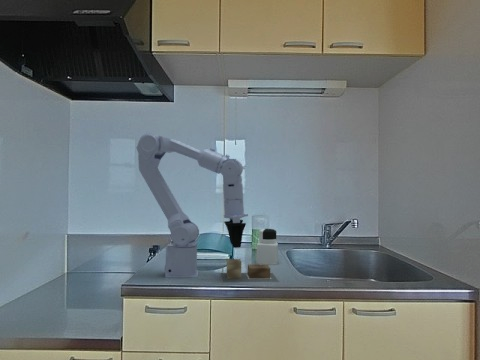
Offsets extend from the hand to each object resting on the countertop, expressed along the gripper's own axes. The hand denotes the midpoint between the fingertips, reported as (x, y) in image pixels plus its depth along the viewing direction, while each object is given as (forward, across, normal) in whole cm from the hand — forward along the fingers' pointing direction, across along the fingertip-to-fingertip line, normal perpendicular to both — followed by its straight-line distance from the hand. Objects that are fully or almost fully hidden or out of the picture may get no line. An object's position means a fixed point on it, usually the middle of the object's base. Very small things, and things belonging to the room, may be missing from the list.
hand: (235, 245), depth 139 cm
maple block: (+9, 0, +1) cm, 9 cm away
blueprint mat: (+10, 0, -3) cm, 10 cm away
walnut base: (+10, +1, -6) cm, 12 cm away
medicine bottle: (+10, +24, -12) cm, 29 cm away
